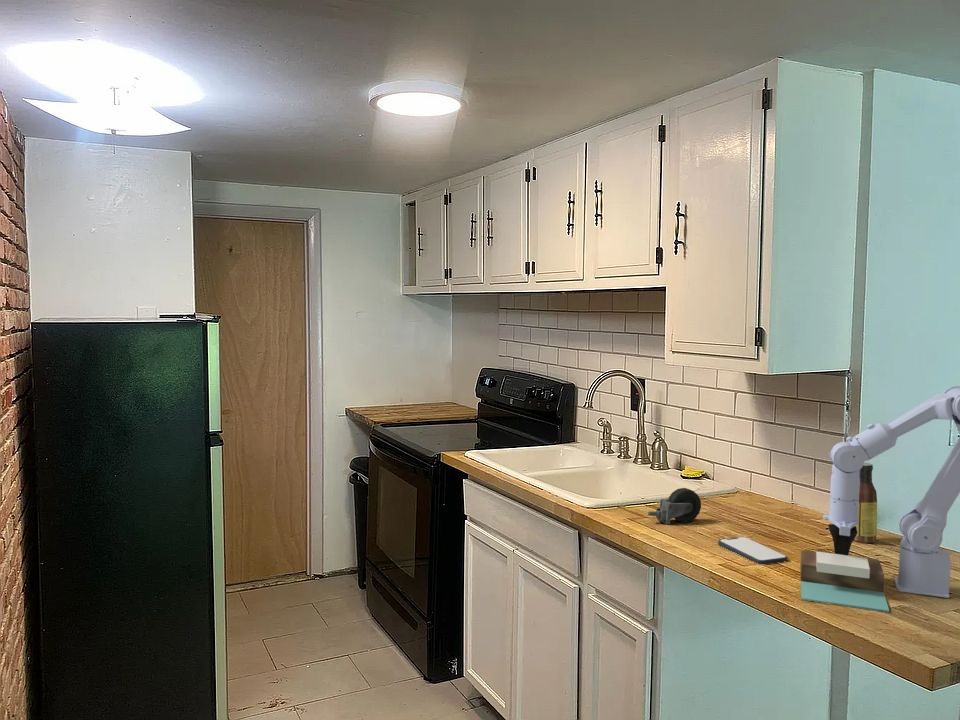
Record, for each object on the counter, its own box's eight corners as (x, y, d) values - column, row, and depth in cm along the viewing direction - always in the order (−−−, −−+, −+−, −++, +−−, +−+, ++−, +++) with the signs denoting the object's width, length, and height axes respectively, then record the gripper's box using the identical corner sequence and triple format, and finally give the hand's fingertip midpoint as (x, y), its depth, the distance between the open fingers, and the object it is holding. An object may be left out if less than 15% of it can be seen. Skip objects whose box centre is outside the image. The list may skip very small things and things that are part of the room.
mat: (883, 594, 164) (883, 592, 164) (889, 612, 154) (889, 610, 154) (800, 582, 170) (800, 581, 170) (801, 600, 160) (801, 598, 160)
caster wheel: (691, 520, 220) (642, 518, 216) (695, 487, 219) (647, 484, 216) (701, 526, 214) (652, 524, 211) (706, 492, 214) (656, 489, 210)
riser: (877, 577, 174) (878, 559, 174) (883, 593, 164) (884, 574, 164) (800, 566, 180) (801, 550, 180) (800, 582, 170) (801, 564, 170)
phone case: (790, 563, 184) (744, 542, 199) (790, 557, 184) (744, 536, 199) (759, 568, 181) (715, 545, 196) (760, 561, 181) (715, 539, 196)
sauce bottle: (879, 540, 201) (883, 464, 199) (871, 545, 196) (876, 467, 195) (852, 534, 206) (856, 460, 204) (844, 540, 201) (848, 463, 199)
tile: (866, 566, 169) (867, 557, 168) (869, 578, 162) (869, 569, 162) (815, 560, 172) (816, 551, 172) (816, 571, 166) (817, 562, 166)
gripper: (823, 488, 178) (820, 547, 179) (825, 503, 165) (822, 566, 166) (857, 491, 176) (854, 551, 177) (862, 507, 162) (859, 571, 163)
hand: (841, 559), depth 171 cm, fingers closed
